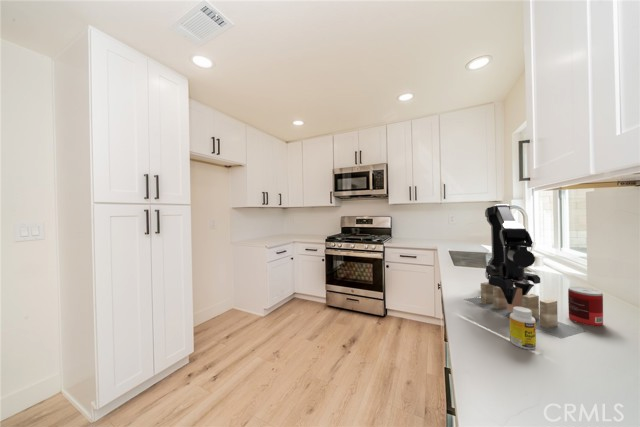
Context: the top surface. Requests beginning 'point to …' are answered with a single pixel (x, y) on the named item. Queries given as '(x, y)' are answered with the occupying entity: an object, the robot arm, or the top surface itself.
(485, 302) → the domino
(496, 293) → the domino
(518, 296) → the domino
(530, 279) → the robot arm
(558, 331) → the mat
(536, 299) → the domino
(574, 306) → the canned food
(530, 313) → the supplement bottle
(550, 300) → the wooden block
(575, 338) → the top surface
